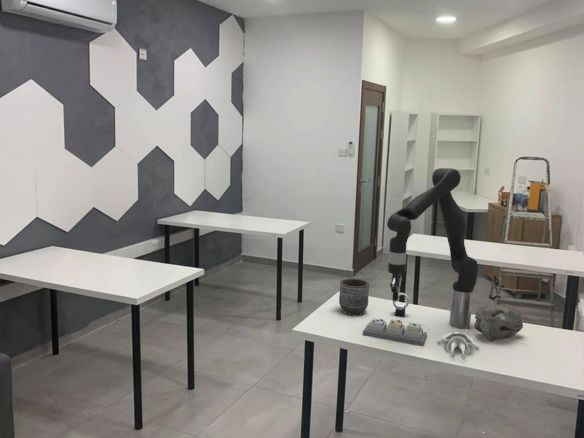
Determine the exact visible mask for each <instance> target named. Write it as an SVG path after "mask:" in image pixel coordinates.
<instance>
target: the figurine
mask: <svg viewBox="0 0 584 438" xmlns="http://www.w3.org/2000/svg"><path fill="white" fill-rule="evenodd" d="M446 340H449V341H448V342H447V343H446V350H447V351H446V352H448V353H450V357H451V358H453V357H454V353H455V352H454V350H455V349H457V348H459V350H460V351H461V359H462V360H464V359H465V356H466V355H468V354H470V351H471V349H470V345H471V346H473V348H475V351H480V347H479V346H478V345H476V343H475V342H474V340H473V339H472V337H471V336H469V335H467V334H466V333H463V332H459V331H457V332H456V331H454V332H447V333H446V334H445V335H444V336H442V338H440V339H438V340H437V341H436V344H437V345H440V344H441V343H442V342H444V341H446ZM469 344H470V345H469Z"/></svg>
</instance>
